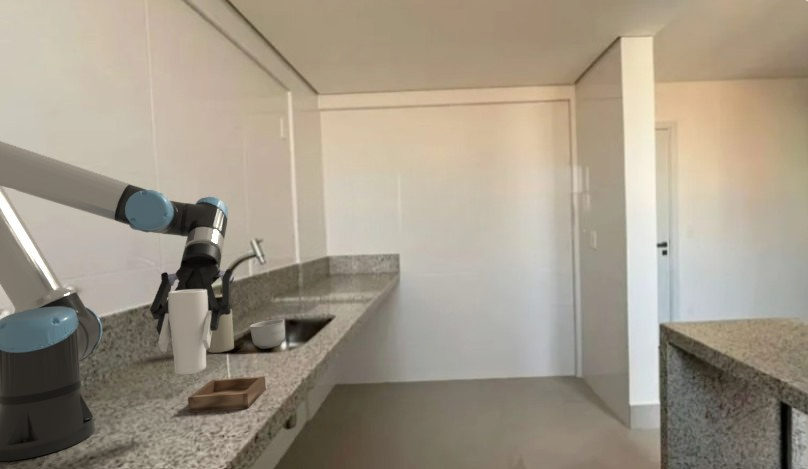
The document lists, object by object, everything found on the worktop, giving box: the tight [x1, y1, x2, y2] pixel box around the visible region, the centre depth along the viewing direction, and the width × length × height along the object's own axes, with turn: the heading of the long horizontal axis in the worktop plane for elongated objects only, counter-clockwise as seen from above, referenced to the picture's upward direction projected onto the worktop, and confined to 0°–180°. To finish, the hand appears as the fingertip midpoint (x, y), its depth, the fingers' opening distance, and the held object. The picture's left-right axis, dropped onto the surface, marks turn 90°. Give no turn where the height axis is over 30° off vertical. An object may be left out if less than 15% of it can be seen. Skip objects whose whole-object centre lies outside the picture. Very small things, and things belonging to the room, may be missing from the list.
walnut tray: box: [187, 375, 267, 413], centre depth 101 cm, size 12×12×3 cm
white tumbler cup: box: [167, 289, 208, 376], centre depth 88 cm, size 7×7×15 cm
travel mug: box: [207, 293, 235, 354], centre depth 153 cm, size 8×8×18 cm
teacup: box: [249, 319, 286, 350], centre depth 156 cm, size 14×11×8 cm
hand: (184, 345), depth 84 cm, fingers closed on white tumbler cup, 7 cm apart
